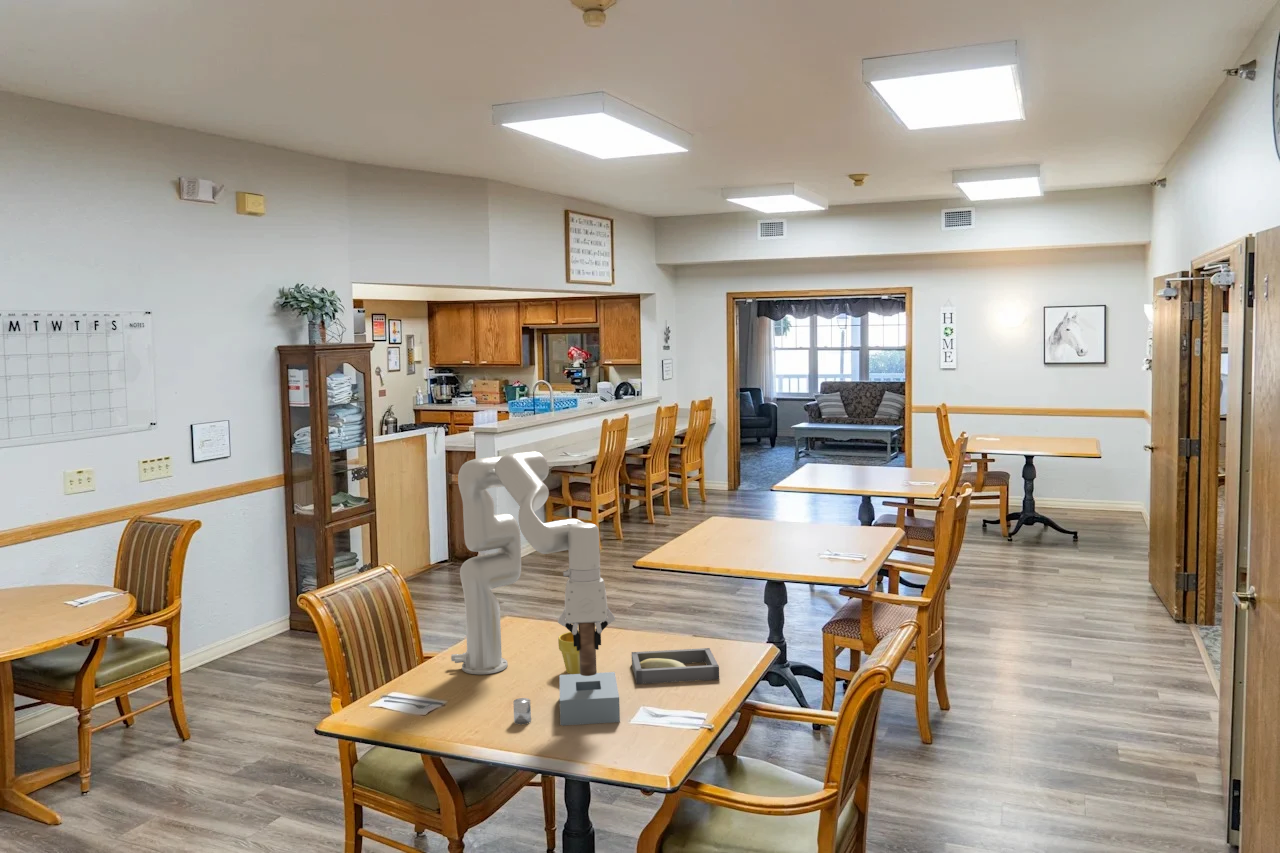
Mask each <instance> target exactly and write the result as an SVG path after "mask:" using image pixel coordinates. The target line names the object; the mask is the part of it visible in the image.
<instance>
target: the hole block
mask: <svg viewBox="0 0 1280 853" xmlns="http://www.w3.org/2000/svg"><path fill="white" fill-rule="evenodd" d="M618 688H619V687H618V683H617V676H616V672H615V671H610V672H609V671H607V672H597V673H596V674H595V675H592V676H583V675H581V674H569V673H567V674H559V713H560V714H559V715H560V716H559V720H560V721H559V722H560V723H559V724H560V726H561V725H562V726H575V725H576V726H577V725H591V724H593V725H594V724H611V723H612V724H613V723H621V716H620V715H621V712H620V711H621V710H620V709H621V708H620V693H619V689H618Z"/></svg>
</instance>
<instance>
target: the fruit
mask: <svg viewBox="0 0 1280 853" xmlns="http://www.w3.org/2000/svg"><path fill="white" fill-rule="evenodd" d="M640 666H641V669H650V668H668V667H687V666H686V665H685V663H681V662H679V661H676V660H672V659H662V658H650V659H646V660H643V661H641V662H640Z"/></svg>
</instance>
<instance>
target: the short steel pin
mask: <svg viewBox="0 0 1280 853" xmlns="http://www.w3.org/2000/svg"><path fill="white" fill-rule="evenodd" d="M512 702H513V723H514V724H515V725H518V724H520V725H521V726H523V725H522V724H525V725H528V724H530V723H531V722H532V711H531V708H532V707H531V706H532V705H531V699H530V698H527V697H521V698H520V697H519V698H516V699H514V700H513V701H512ZM529 722H530V723H529ZM527 723H528V724H527ZM520 725H519V726H520Z"/></svg>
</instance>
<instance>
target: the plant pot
mask: <svg viewBox="0 0 1280 853" xmlns="http://www.w3.org/2000/svg"><path fill="white" fill-rule="evenodd" d="M578 632H579V630H578ZM558 649H559V651H560V653H561V655H562V656H561V657H562V659H563V664H564V668H565V671H566V673H567V674H580V655H579V651H577V646H576V647H574V641H573V634H572V633H571V632H570V631H568V632H565V633H562V634H560V635H559V636H558Z"/></svg>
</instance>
